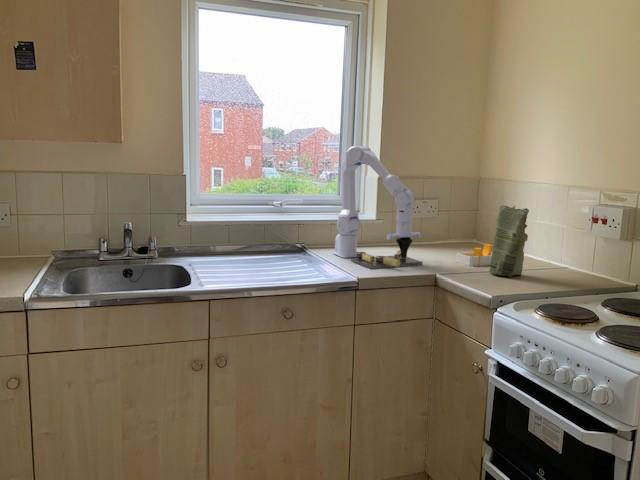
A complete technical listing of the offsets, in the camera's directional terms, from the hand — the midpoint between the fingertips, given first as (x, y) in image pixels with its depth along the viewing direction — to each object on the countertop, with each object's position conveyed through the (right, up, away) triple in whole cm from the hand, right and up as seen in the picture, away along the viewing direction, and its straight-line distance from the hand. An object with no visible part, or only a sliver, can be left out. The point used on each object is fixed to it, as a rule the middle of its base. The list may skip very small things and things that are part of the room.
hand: (403, 257), depth 218 cm
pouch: (+35, -6, -14) cm, 38 cm away
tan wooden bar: (-15, -1, -2) cm, 15 cm away
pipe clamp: (+31, -2, +7) cm, 32 cm away
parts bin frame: (+31, -2, +7) cm, 32 cm away
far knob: (-1, 0, +3) cm, 3 cm away
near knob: (-7, -2, -9) cm, 11 cm away
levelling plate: (-6, -2, 0) cm, 7 cm away
